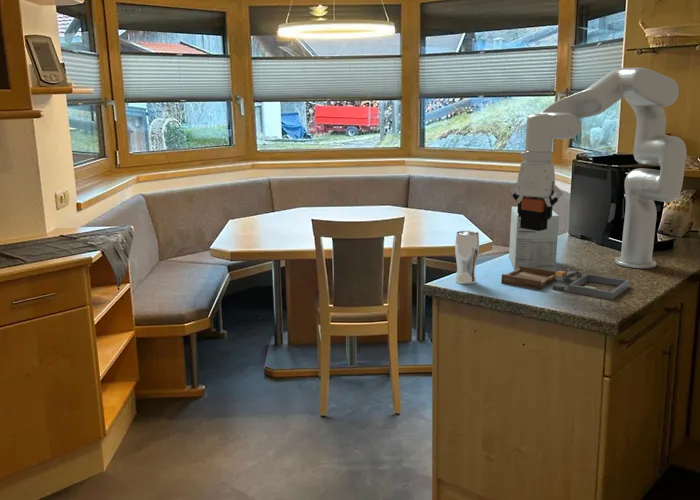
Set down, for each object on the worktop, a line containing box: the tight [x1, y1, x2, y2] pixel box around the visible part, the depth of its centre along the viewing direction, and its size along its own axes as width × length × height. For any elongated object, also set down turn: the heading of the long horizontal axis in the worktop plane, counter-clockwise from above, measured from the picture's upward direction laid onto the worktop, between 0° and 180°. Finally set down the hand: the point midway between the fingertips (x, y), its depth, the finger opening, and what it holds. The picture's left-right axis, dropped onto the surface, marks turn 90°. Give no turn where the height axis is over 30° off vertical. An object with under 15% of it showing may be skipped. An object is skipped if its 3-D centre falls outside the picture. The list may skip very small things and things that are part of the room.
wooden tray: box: [500, 266, 558, 291], centre depth 202 cm, size 13×12×3 cm
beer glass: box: [454, 230, 480, 285], centre depth 200 cm, size 7×7×15 cm
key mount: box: [552, 267, 583, 292], centre depth 199 cm, size 14×5×3 cm, turn 142°
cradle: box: [567, 273, 630, 301], centre depth 194 cm, size 16×12×2 cm
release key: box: [555, 270, 578, 281], centre depth 198 cm, size 12×2×2 cm, turn 142°
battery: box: [520, 197, 548, 231], centre depth 197 cm, size 4×7×10 cm, turn 42°
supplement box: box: [508, 206, 560, 272], centre depth 220 cm, size 17×13×18 cm
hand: (534, 217), depth 198 cm, fingers closed on battery, 7 cm apart
